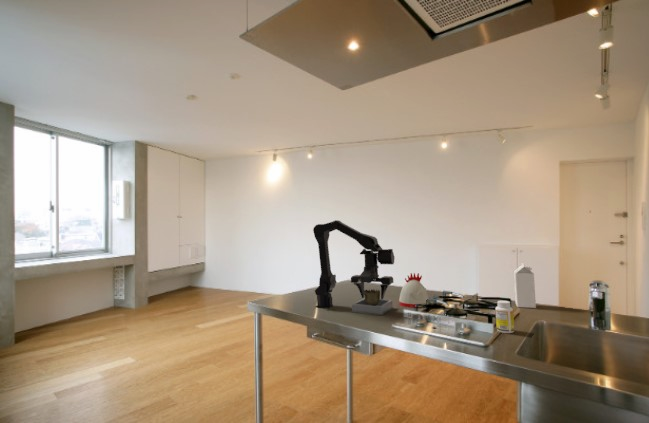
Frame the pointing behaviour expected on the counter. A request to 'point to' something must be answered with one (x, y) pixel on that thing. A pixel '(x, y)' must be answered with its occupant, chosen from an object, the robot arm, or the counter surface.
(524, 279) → the milk carton
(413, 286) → the kitchen timer
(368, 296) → the cup
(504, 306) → the supplement bottle
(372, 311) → the tray
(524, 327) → the counter surface
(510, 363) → the counter surface
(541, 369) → the counter surface
